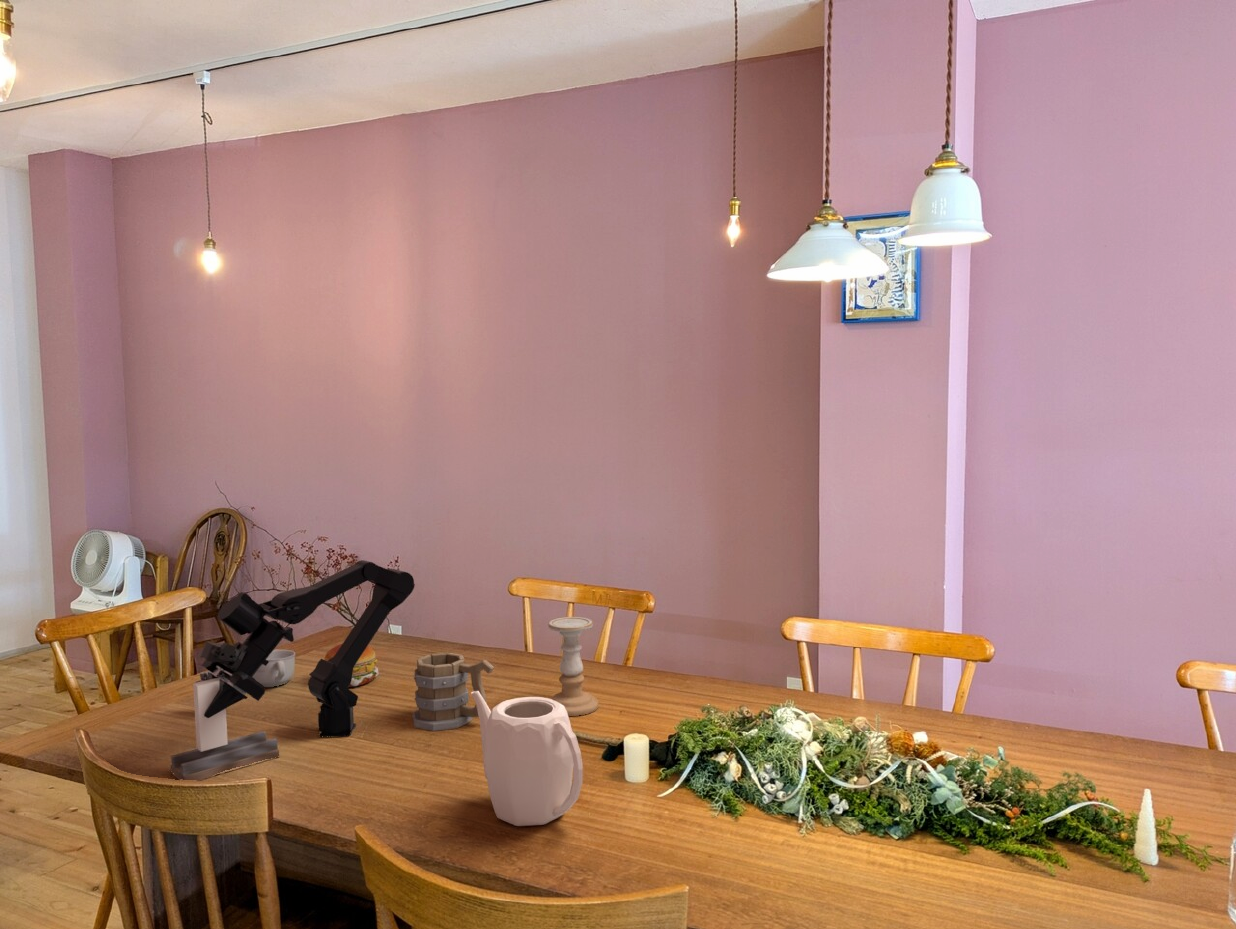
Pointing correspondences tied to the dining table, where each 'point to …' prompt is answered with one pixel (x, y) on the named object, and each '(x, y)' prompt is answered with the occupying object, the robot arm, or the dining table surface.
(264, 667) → the teacup
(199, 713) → the door panel
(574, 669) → the candle holder
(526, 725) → the watering can
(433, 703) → the tankard
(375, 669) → the burger
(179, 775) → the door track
